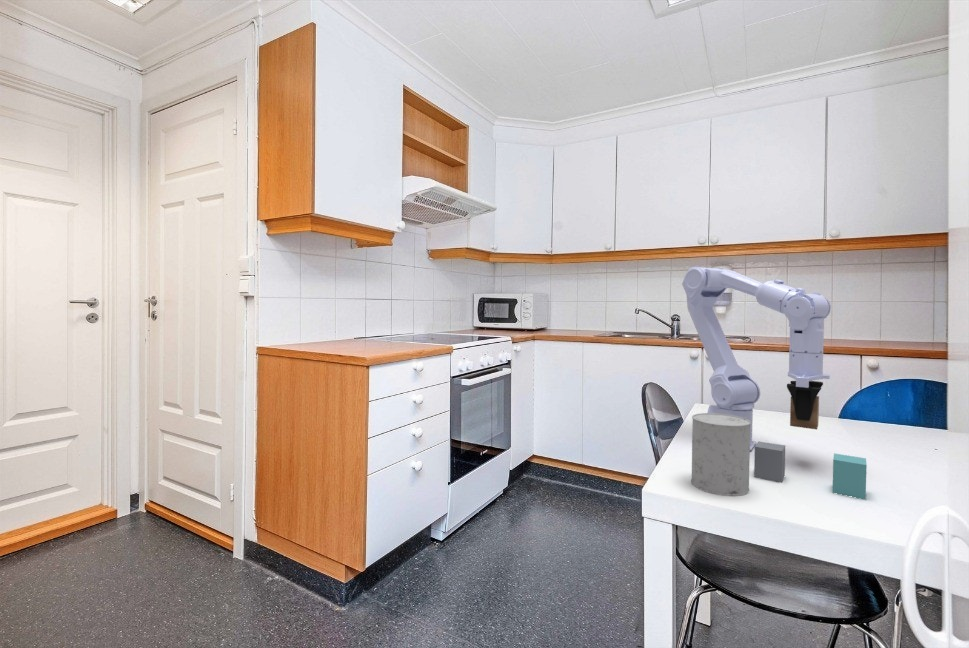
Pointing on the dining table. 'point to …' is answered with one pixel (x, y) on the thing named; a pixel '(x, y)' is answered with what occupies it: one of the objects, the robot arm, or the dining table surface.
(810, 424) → the walnut block
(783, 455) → the charcoal block
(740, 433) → the grey concrete cylinder
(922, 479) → the dining table surface
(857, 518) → the dining table surface
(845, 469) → the teal block
